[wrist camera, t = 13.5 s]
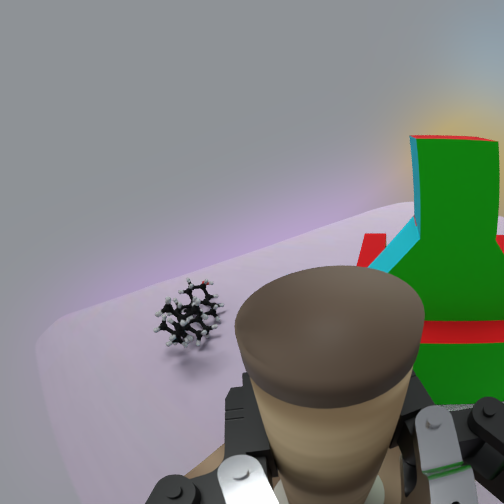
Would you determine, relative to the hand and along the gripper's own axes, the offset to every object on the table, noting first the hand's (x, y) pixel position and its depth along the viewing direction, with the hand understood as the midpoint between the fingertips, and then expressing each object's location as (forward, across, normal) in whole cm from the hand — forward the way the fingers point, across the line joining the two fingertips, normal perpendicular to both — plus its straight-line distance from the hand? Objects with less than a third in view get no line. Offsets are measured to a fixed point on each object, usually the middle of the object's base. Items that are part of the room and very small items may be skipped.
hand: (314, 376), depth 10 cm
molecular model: (+19, +9, +10) cm, 23 cm away
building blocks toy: (+9, -18, +11) cm, 23 cm away
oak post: (-3, 0, +7) cm, 8 cm away
